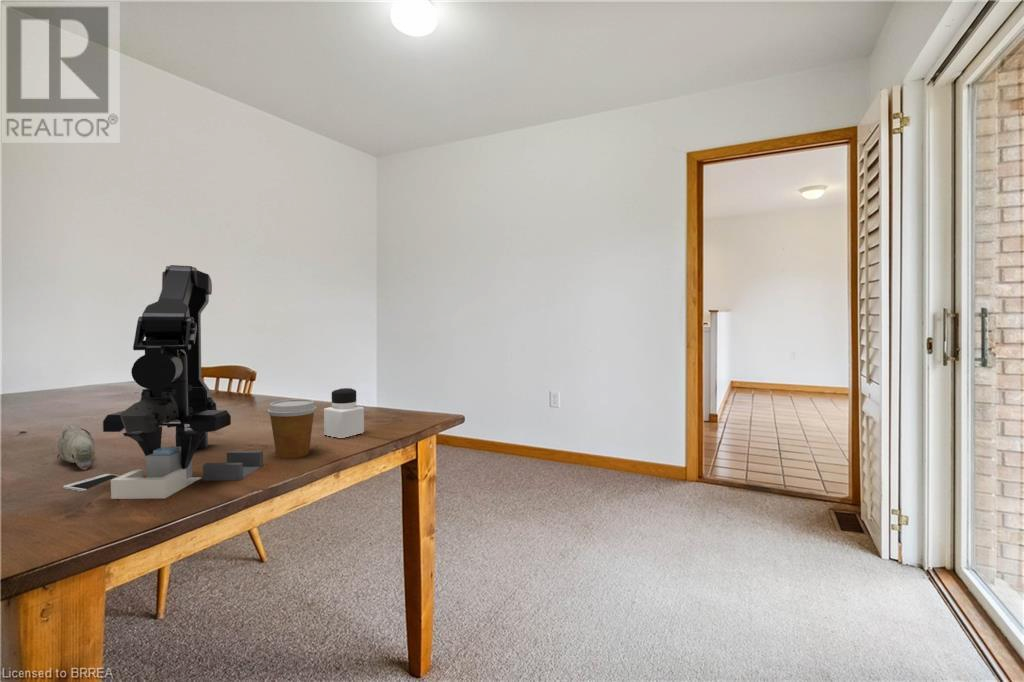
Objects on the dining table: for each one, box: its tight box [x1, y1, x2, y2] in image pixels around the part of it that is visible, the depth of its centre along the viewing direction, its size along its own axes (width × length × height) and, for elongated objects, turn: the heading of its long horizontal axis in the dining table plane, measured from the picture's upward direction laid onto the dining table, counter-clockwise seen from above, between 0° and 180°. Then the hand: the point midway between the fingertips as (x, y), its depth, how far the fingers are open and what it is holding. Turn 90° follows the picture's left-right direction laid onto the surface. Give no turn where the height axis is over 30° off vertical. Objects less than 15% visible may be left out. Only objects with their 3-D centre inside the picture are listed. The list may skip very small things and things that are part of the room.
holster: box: [202, 450, 264, 481], centre depth 90 cm, size 9×6×4 cm
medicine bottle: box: [323, 387, 365, 439], centre depth 123 cm, size 7×7×12 cm
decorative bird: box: [56, 421, 96, 471], centre depth 98 cm, size 5×16×7 cm, turn 50°
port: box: [110, 468, 203, 500], centre depth 82 cm, size 10×8×4 cm
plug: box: [145, 446, 193, 479], centre depth 85 cm, size 6×4×6 cm, turn 3°
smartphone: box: [62, 473, 120, 492], centre depth 84 cm, size 7×15×1 cm, turn 73°
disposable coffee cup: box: [267, 398, 317, 459], centre depth 102 cm, size 10×10×12 cm
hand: (170, 468), depth 85 cm, fingers open, 5 cm apart
